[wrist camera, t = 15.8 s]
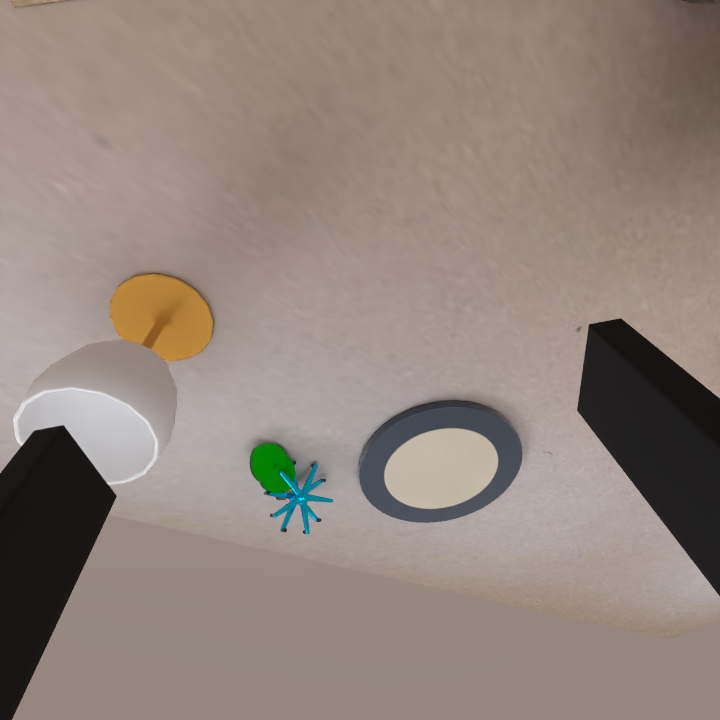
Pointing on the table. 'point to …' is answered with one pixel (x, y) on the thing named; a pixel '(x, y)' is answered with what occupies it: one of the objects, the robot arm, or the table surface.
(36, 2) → the model pyramid
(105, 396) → the cup
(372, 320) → the table surface
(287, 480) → the spiky blue green toy
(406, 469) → the plate
